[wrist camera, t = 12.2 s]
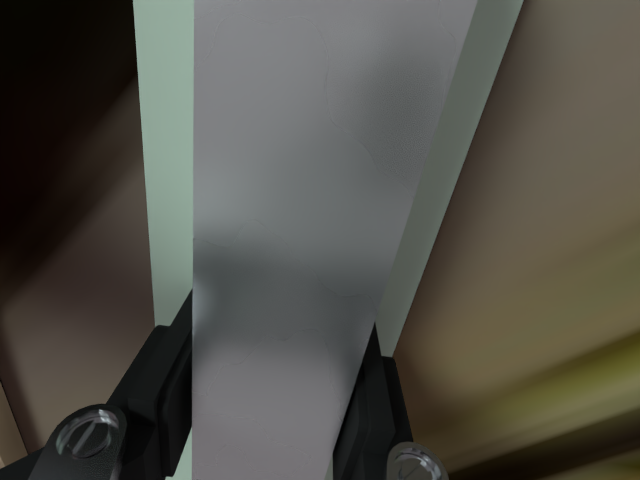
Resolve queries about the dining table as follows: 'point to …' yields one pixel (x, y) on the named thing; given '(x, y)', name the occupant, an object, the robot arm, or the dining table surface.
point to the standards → (9, 435)
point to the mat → (177, 159)
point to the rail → (301, 210)
